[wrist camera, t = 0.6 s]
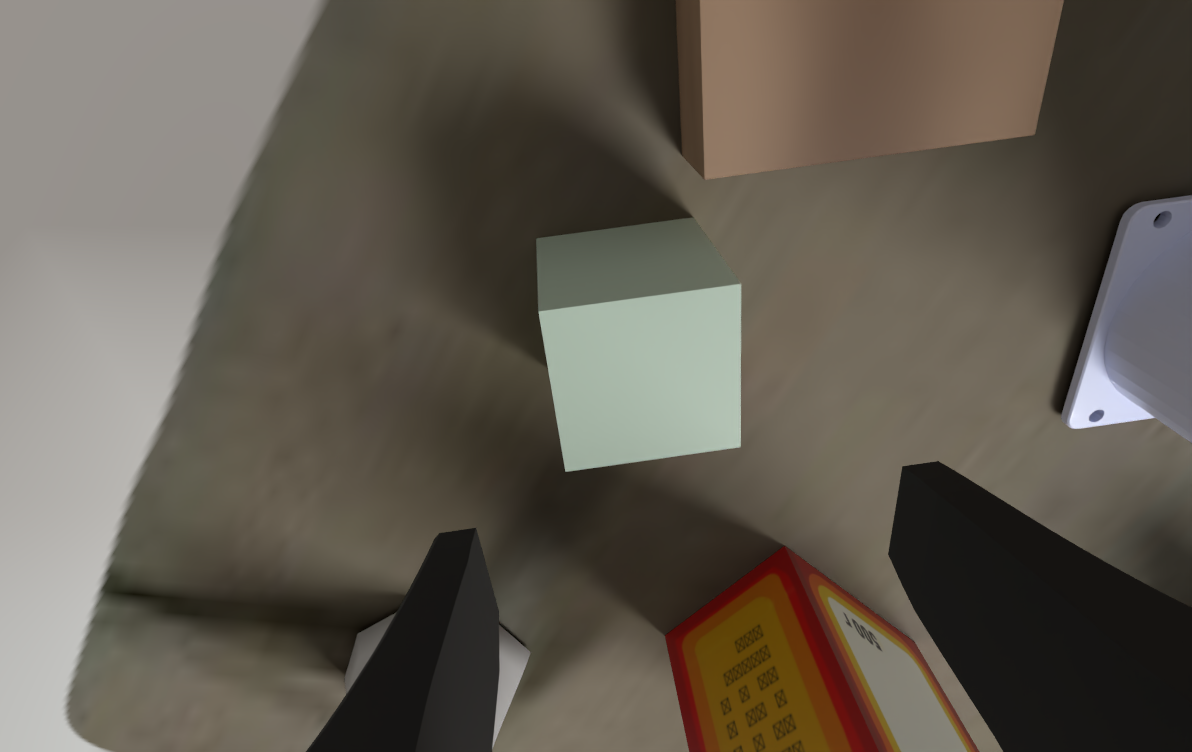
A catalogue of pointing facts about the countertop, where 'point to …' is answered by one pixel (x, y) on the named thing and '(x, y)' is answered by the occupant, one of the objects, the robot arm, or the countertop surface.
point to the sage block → (640, 343)
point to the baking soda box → (804, 672)
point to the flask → (509, 655)
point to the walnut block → (855, 78)
